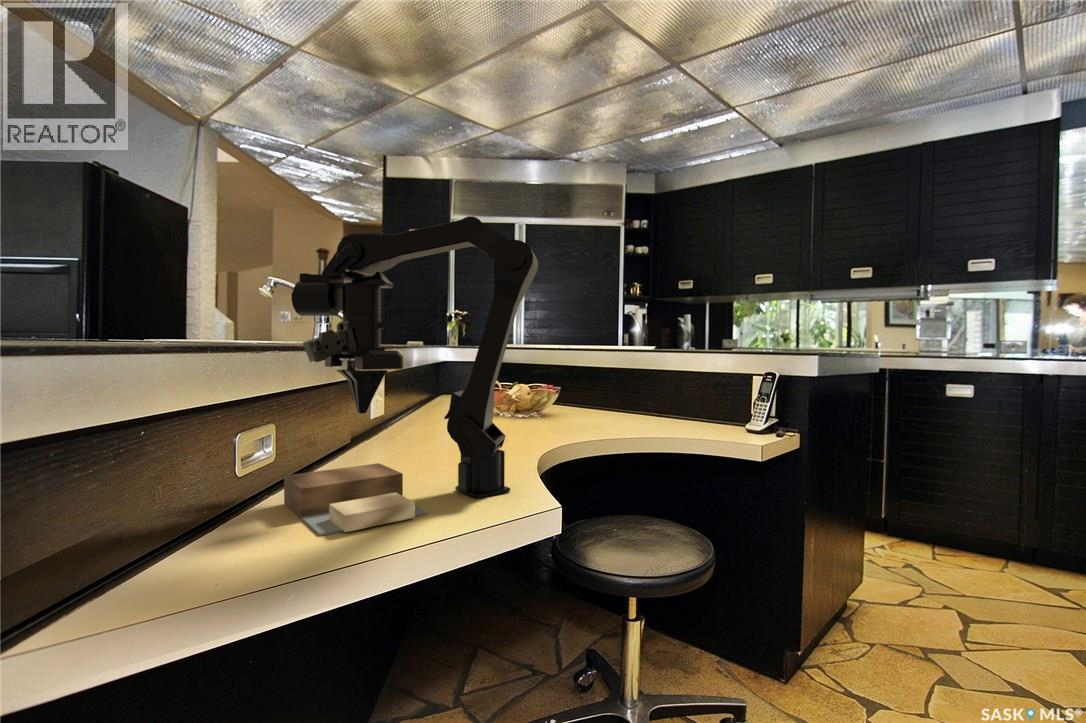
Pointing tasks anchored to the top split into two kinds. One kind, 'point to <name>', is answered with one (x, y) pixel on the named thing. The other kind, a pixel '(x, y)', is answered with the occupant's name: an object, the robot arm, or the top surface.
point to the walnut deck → (338, 487)
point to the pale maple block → (371, 511)
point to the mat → (325, 526)
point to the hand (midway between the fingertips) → (361, 413)
